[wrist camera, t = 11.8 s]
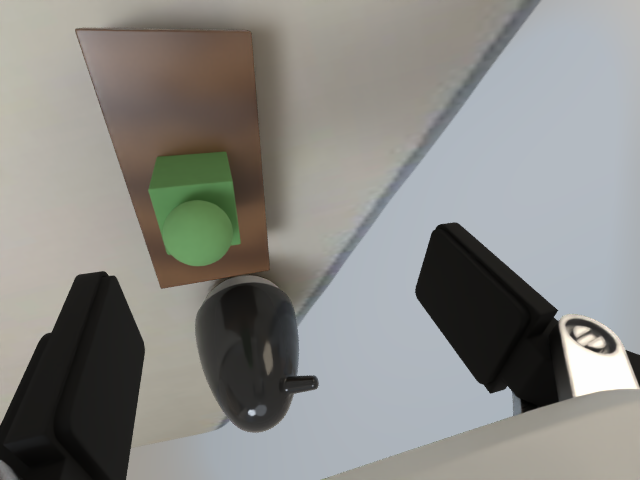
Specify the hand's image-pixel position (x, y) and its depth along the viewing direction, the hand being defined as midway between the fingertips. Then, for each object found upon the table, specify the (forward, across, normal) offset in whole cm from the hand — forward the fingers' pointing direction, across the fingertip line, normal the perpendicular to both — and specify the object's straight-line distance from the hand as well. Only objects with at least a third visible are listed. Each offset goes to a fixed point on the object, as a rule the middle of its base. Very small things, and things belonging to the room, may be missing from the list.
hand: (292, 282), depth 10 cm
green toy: (+15, +3, +4) cm, 16 cm away
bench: (+21, +3, +4) cm, 22 cm away
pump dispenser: (+21, +1, +21) cm, 30 cm away
